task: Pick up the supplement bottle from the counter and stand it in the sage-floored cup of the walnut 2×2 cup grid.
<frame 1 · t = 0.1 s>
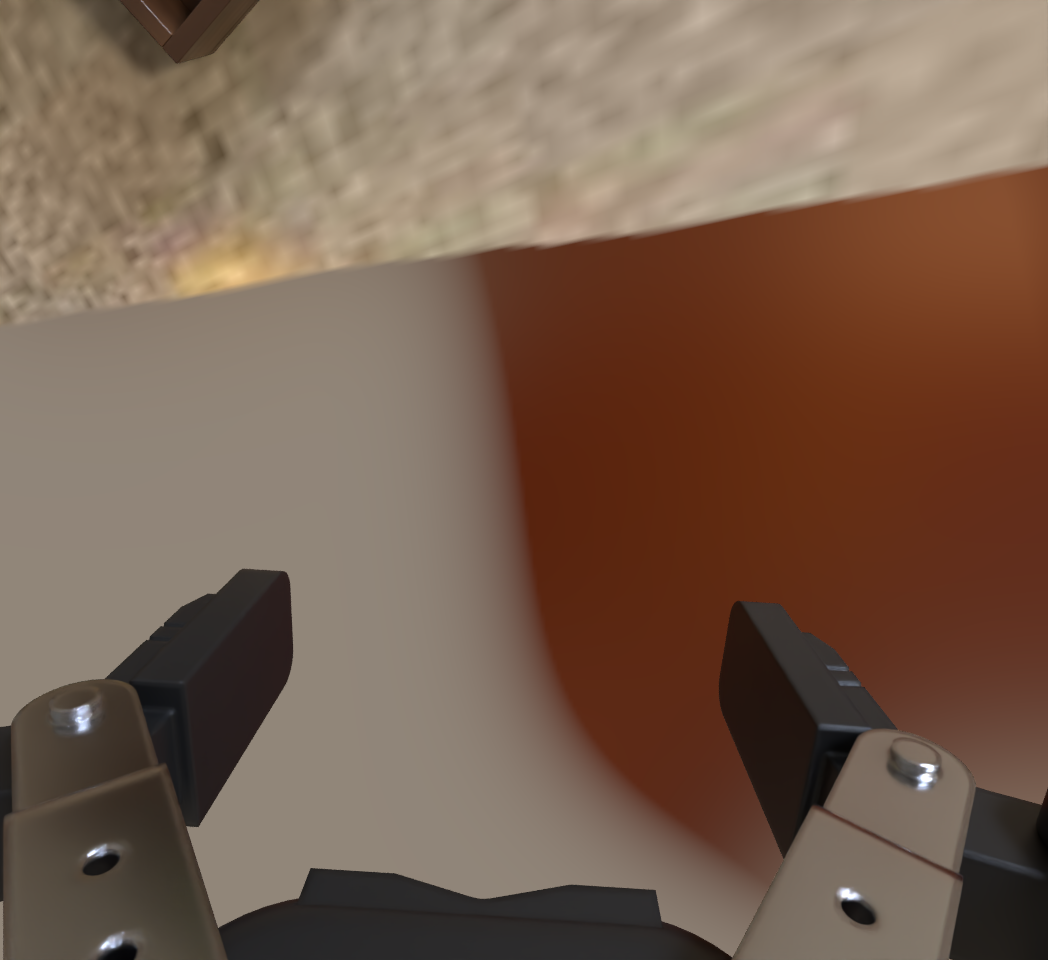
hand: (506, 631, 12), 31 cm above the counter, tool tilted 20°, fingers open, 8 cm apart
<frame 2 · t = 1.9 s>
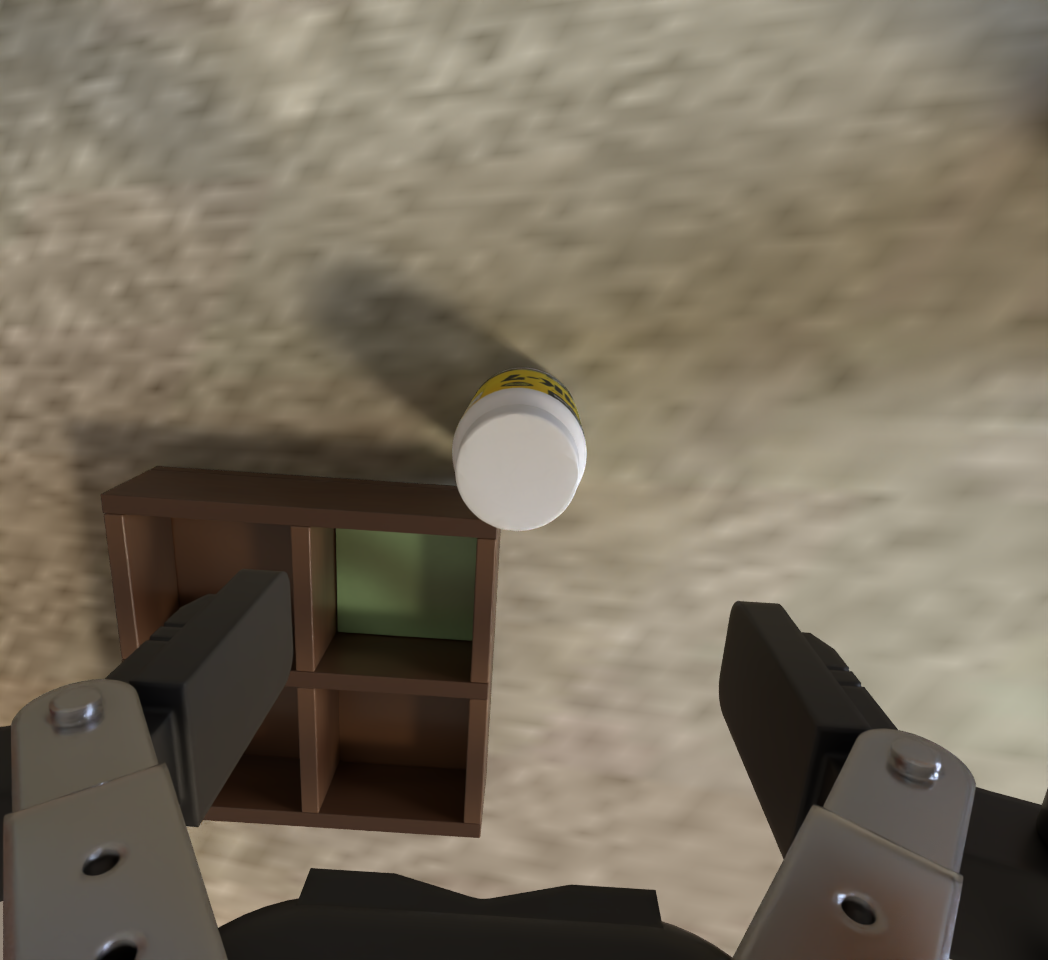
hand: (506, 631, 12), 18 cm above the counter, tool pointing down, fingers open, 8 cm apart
grid: (333, 631, 33), on the counter
supplement bottle: (523, 419, 30), on the counter
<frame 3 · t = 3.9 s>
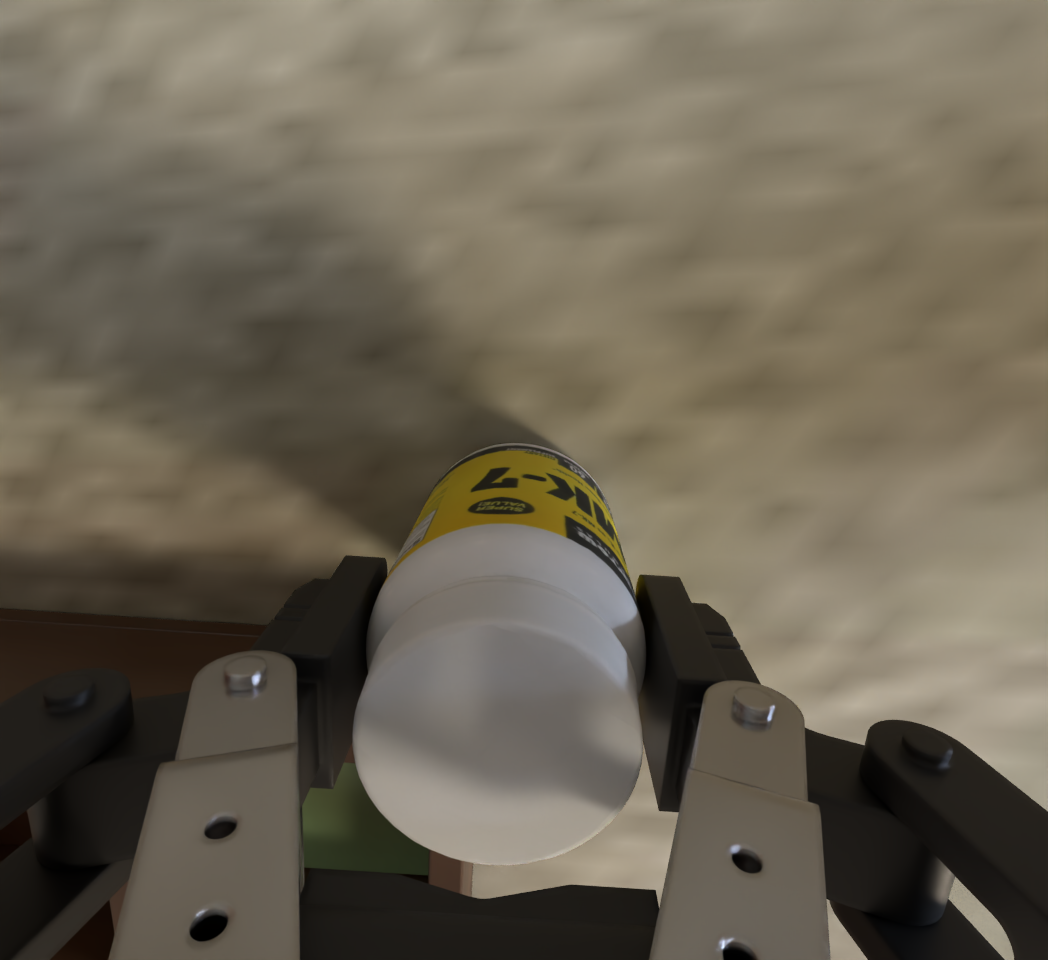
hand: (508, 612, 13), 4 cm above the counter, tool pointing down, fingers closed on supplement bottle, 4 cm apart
grid: (214, 850, 20), on the counter
supplement bottle: (517, 525, 17), on the counter, touching gripper
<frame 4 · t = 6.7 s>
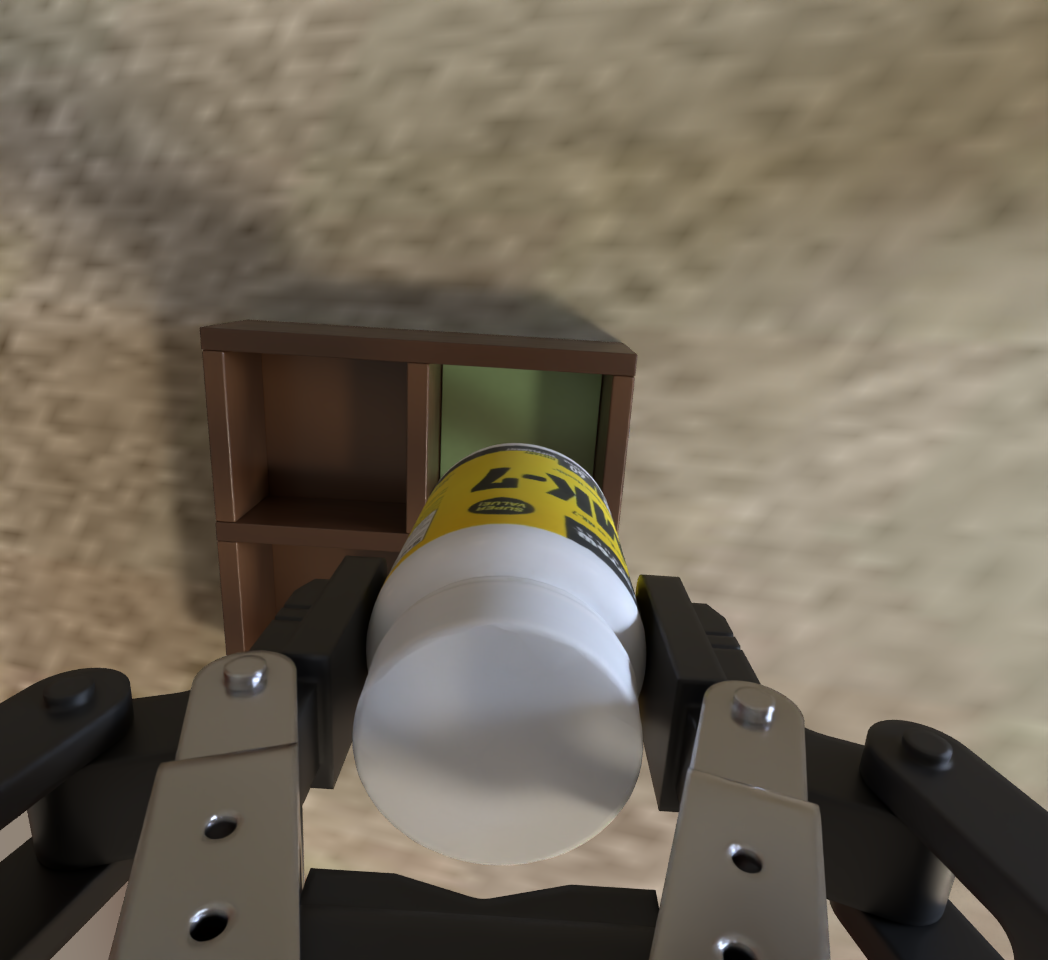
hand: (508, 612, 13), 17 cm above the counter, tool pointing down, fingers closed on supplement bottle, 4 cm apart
grid: (431, 508, 30), on the counter
supplement bottle: (517, 526, 17), point 12 cm above the counter, touching gripper
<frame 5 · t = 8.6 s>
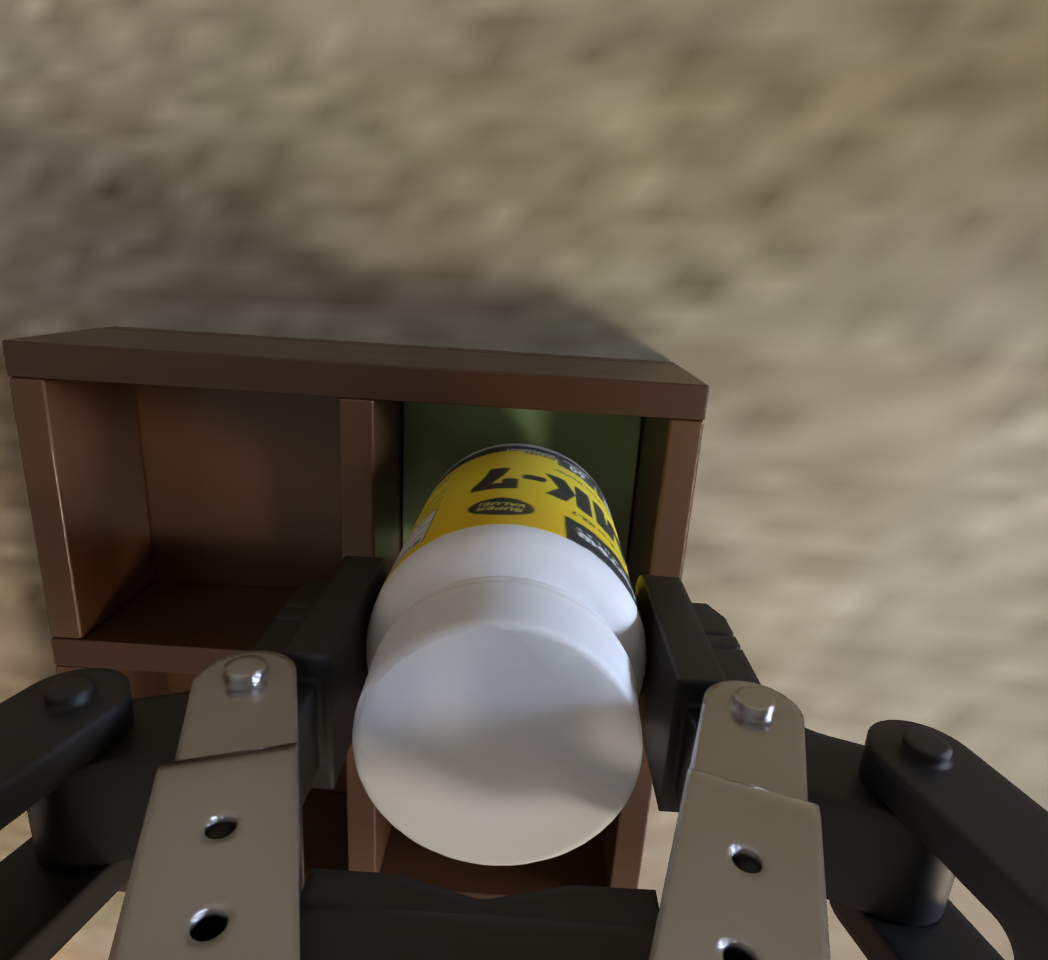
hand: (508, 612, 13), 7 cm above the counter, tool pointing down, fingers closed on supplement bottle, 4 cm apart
grid: (392, 597, 21), on the counter
supplement bottle: (517, 526, 17), point 3 cm above the counter, touching gripper
when the fingers open (5 cm above the counter, at t = 9.7 s): supplement bottle stays where it is, resting on grid.
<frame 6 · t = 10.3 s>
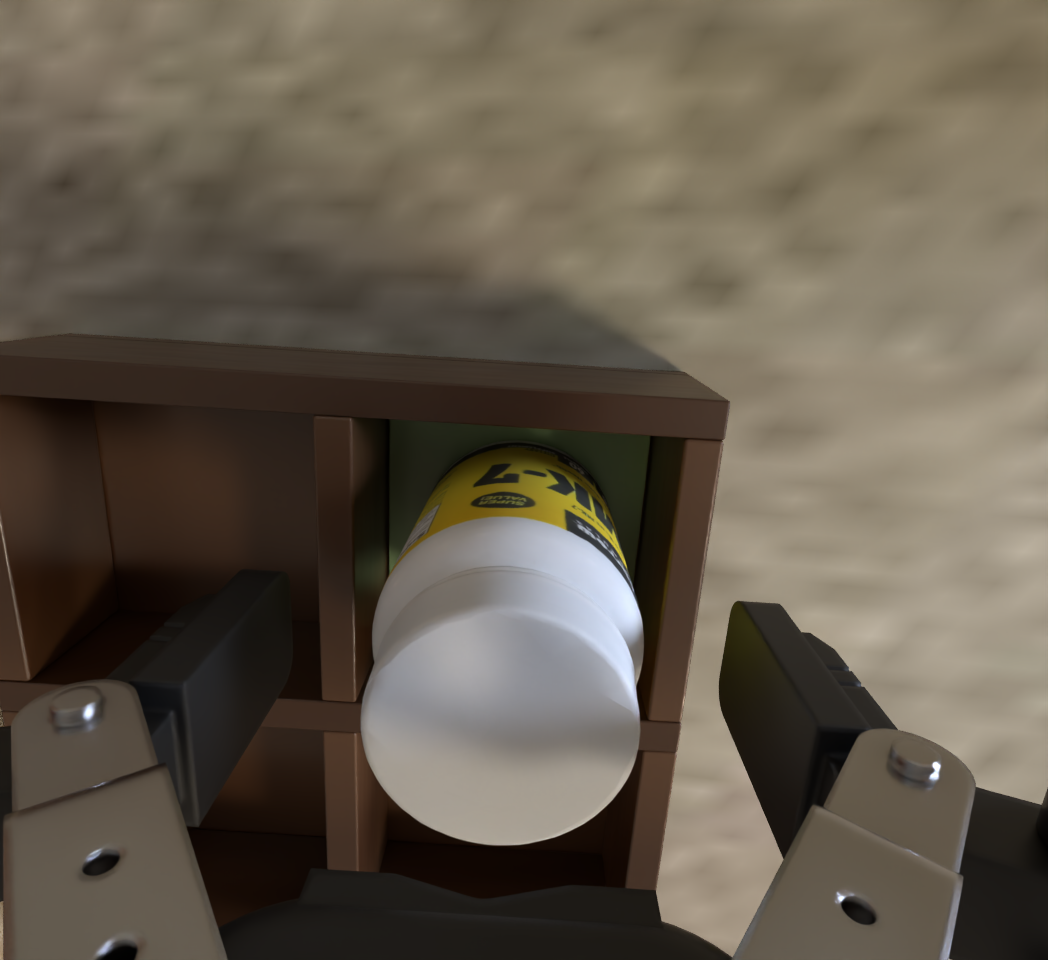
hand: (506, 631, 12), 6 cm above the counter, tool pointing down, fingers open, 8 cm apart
grid: (378, 627, 19), on the counter
supplement bottle: (517, 521, 18), point 1 cm above the counter, touching grid
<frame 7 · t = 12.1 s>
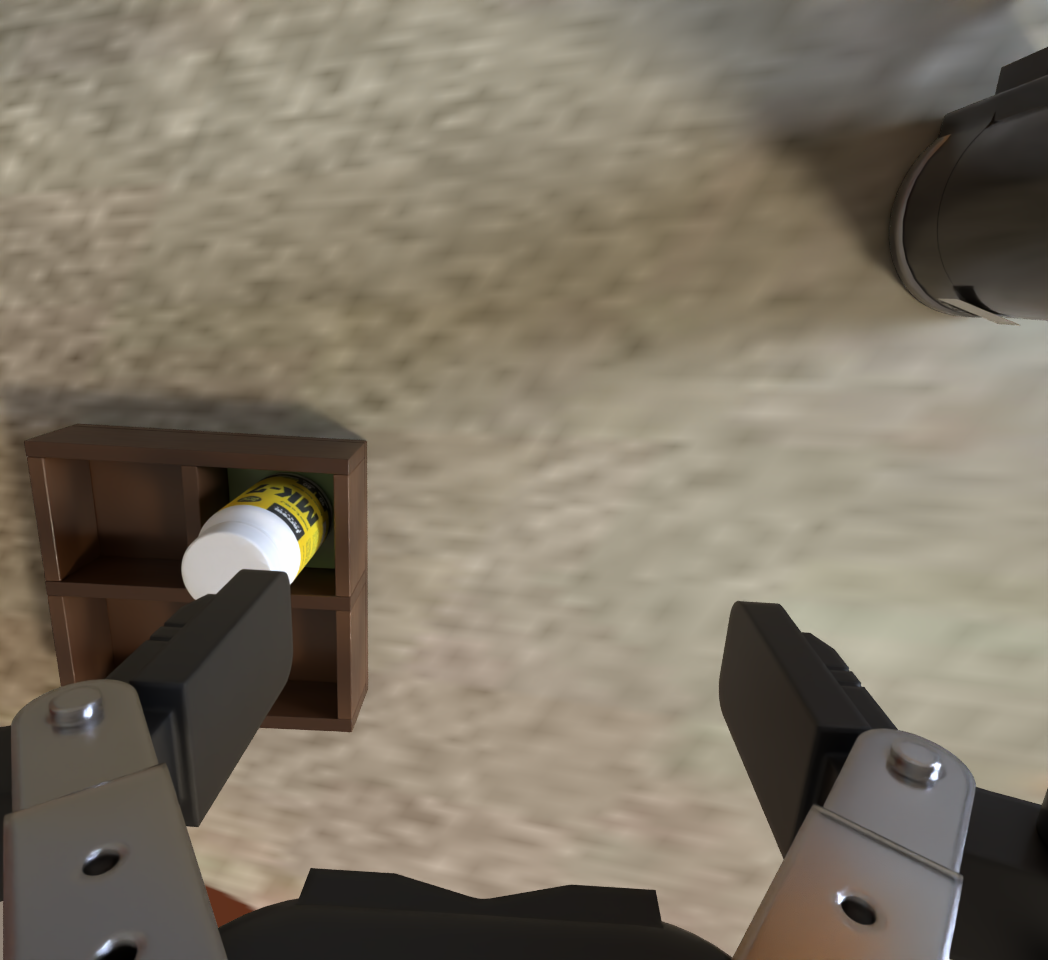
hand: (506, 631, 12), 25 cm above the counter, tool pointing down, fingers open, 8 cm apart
grid: (231, 564, 39), on the counter
supplement bottle: (292, 510, 37), point 1 cm above the counter, touching grid
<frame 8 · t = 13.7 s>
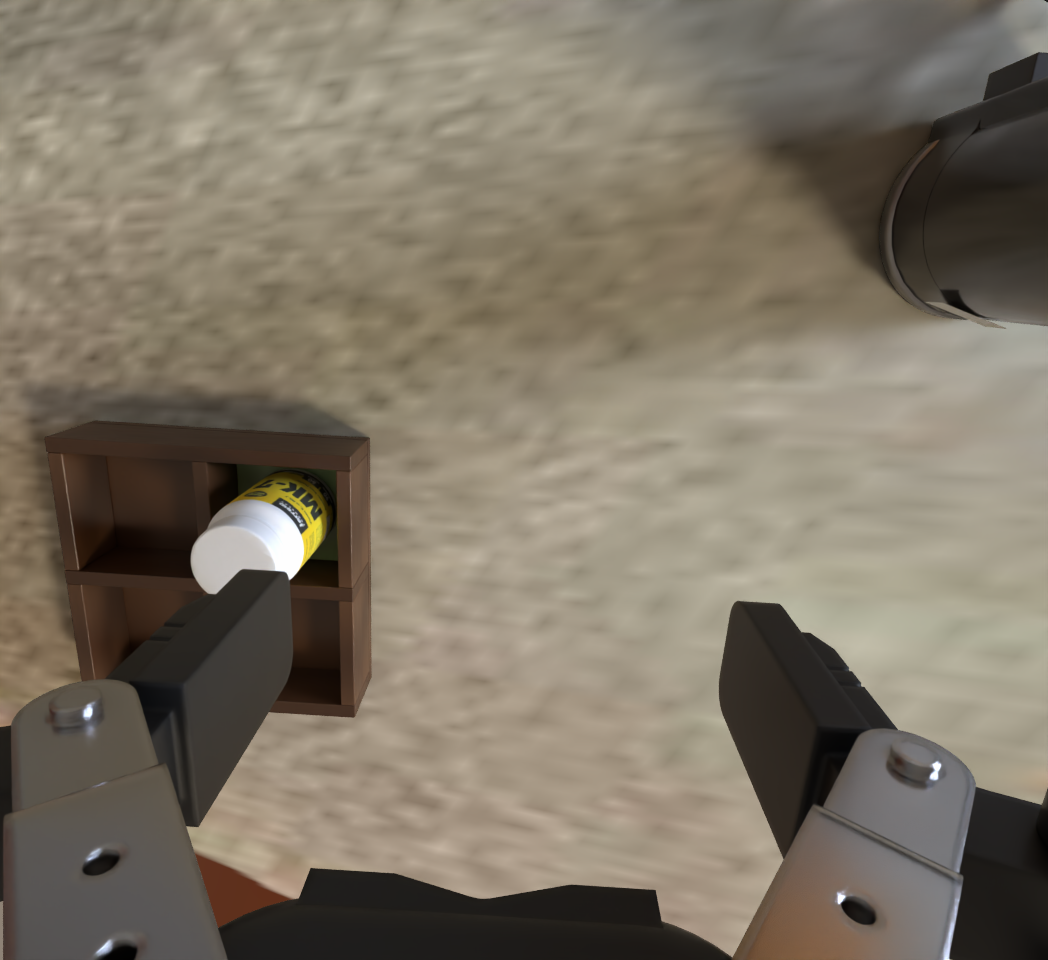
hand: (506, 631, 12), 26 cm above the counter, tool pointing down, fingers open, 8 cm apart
grid: (241, 556, 40), on the counter
supplement bottle: (298, 504, 39), point 1 cm above the counter, touching grid
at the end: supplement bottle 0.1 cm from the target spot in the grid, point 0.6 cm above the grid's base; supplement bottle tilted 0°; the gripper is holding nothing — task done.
